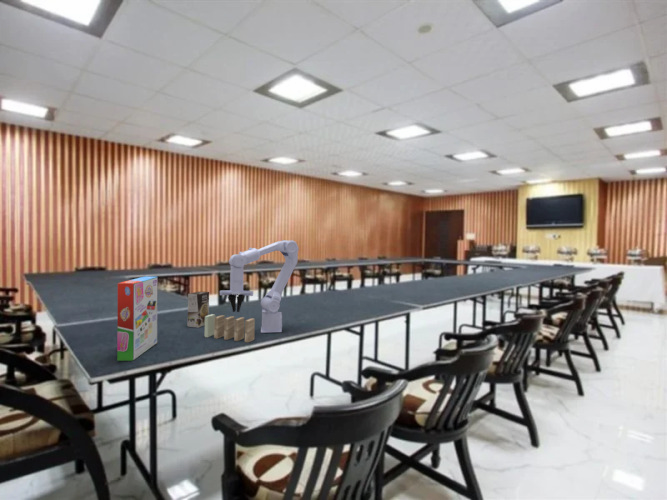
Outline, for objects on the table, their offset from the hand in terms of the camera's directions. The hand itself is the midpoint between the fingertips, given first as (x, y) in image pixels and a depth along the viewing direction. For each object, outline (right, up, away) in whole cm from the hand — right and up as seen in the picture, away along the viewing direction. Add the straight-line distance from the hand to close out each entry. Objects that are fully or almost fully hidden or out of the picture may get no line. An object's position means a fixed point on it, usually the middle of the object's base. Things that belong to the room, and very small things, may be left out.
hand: (236, 311), depth 160 cm
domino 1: (-11, -10, -3) cm, 15 cm away
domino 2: (-6, -10, -4) cm, 13 cm away
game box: (-29, -11, -26) cm, 41 cm away
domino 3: (-2, -11, -6) cm, 12 cm away
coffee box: (-23, -10, +16) cm, 30 cm away
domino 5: (+8, -11, -9) cm, 16 cm away
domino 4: (+3, -11, -7) cm, 13 cm away
